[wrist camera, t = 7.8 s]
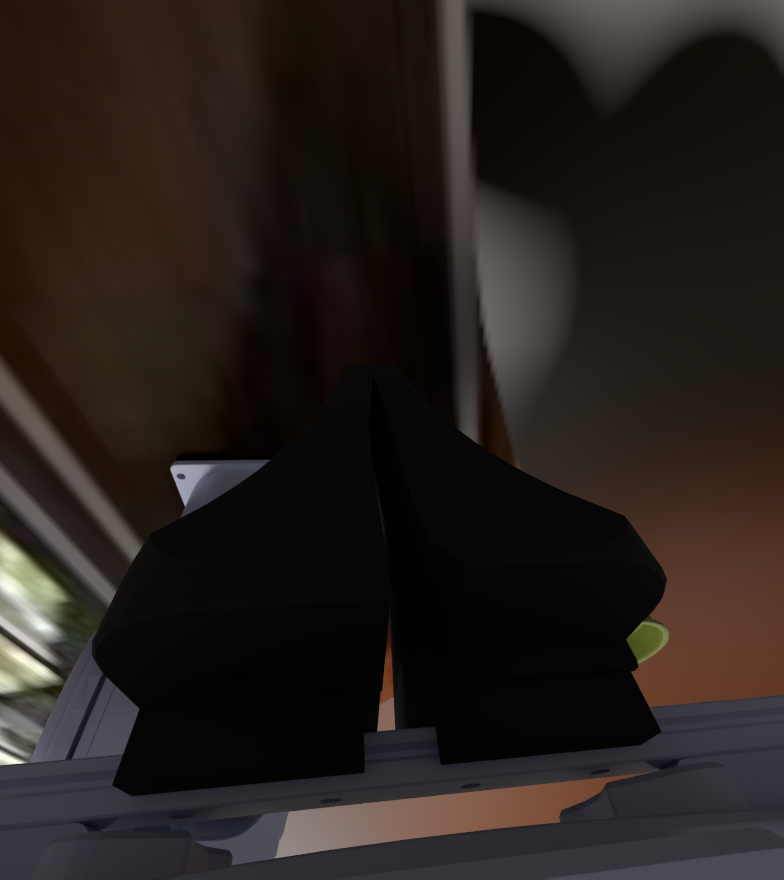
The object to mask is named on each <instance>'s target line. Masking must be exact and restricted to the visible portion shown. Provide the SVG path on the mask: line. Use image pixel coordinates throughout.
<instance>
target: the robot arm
mask: <svg viewBox="0 0 784 880" xmlns="http://www.w3.org/2000/svg"><path fill="white" fill-rule="evenodd" d="M170 470H171V473H172V475H173V478H174V480H175V483H176V485H177V487H178V490H179V492H180V495H181V497H182V500H183V502H184V505H185V509H184V511H183V514H182V516H181V518H180V519H178V520H176V521H174V522H172V523H171V524H169V525H167V526H165V527H163V528H161V529H159V530H157V531H155V532H153V533H151V534H150V535H149V537H148V538H147V540H146V542H145V544H144V545H143V547H142V548H141V550H140V551H139V553H138V554H137V556H136V557H135V559H134V560H133V562H132V564H131V565H130V567H129V569H128V571H127V573H126V574H125V576H124V578H123V580H122V582H121V584H120V586H119V588H118V590H117V592H116V594H115V596H114V598H113V600H112V602H111V604H110V606H109V608H108V610H107V612H106V614H105V616H104V618H103V620H102V622H101V624H100V626H99V628H98V630H97V631H95V633H94V634H93V635H92V637H91V638H90V640H89V641H88V643H87V644H86V646H85V648H84V650H83V651H82V653H81V655H80V657H79V659H78V660H77V662H76V664H75V666H74V668H73V670H72V672H71V674H70V676H69V678H68V680H67V682H66V684H65V686H64V688H63V690H62V692H61V694H60V696H59V698H58V700H57V702H56V704H55V706H54V708H53V710H52V713H51V715H50V717H49V719H48V721H47V723H46V726H45V728H44V730H43V732H42V735H41V737H40V739H39V742H38V744H37V746H36V749H35V751H34V754H33V756H32V758H31V761H30V763H23V764H12V765H1V766H0V880H784V695H778V696H767V697H757V698H756V697H755V698H745V699H733V700H722V701H711V702H700V703H689V704H678V705H666V706H656V707H649V706H648V704H647V702H646V700H645V698H644V696H643V694H642V692H641V691H640V689H639V687H638V685H637V683H636V681H635V679H634V677H633V675H632V673H631V671H635V669H637V668H638V661H637V659H636V657H635V655H634V653H633V651H632V649H631V648H630V646H629V644H628V642H627V640H626V639H627V638H628V637H629V636H630V635H631V634H632V633H633V632H634V631H635V629H636V628H637V627H638V626H639V625H640V624H641V623H642V622H643V621H644V620H645V619H646V618H647V617H648V616H649V614H650V613H651V612H652V611H653V610H654V609H655V607H656V606H657V605H658V603H659V602H660V600H661V599H662V597H663V594H664V591H665V586H666V581H667V578H666V576H665V574H664V571H663V569H662V567H661V566H660V564H659V563H658V562H657V560H656V559H655V557H654V556H653V554H652V553H651V552H650V550H649V549H648V547H647V546H646V545H645V543H644V542H643V540H642V539H641V538H640V536H639V535H638V533H637V532H636V531H635V529H634V528H633V526H632V525H631V524H630V522H629V521H628V520H627V519H626V517H625V516H623V515H621V514H618V513H616V512H614V511H611V510H609V509H606V508H604V507H601V506H598V505H596V504H593V503H591V502H588V501H586V500H584V499H581V498H579V497H576V496H574V495H571V494H568V493H566V492H564V491H562V490H560V489H557V488H555V487H553V486H551V485H549V484H547V483H545V482H543V481H541V480H539V479H537V478H535V477H532V476H531V475H529V474H527V473H525V472H523V471H521V470H519V469H518V468H516V467H514V466H512V465H511V464H509V463H507V462H505V461H504V460H502V459H500V458H499V457H497V456H495V455H494V454H492V453H490V452H489V451H487V450H486V449H484V448H483V447H481V446H480V445H478V444H477V443H476V442H474V441H473V440H472V439H470V438H469V437H467V436H466V435H465V434H463V433H462V432H461V431H459V430H458V429H457V428H456V427H454V426H453V425H452V424H451V423H450V422H448V421H447V420H446V419H445V418H444V417H443V416H442V415H441V414H439V413H438V412H437V411H436V410H435V409H434V408H433V407H432V406H431V405H430V404H429V403H428V402H427V401H426V400H425V399H424V398H423V396H422V395H421V394H420V393H419V392H418V391H417V390H416V389H415V388H414V386H413V385H412V384H411V383H410V382H409V380H408V379H407V378H406V377H405V376H404V374H403V373H402V372H401V371H400V369H399V368H398V367H397V366H396V365H395V364H347V365H346V366H344V367H343V368H342V372H341V374H340V376H339V378H338V380H337V382H336V384H335V386H334V387H333V389H332V391H331V392H330V394H329V395H328V397H327V398H326V400H325V401H324V403H323V404H322V406H321V407H320V408H319V410H318V411H317V412H316V413H315V415H314V416H313V417H312V418H311V420H310V421H309V422H308V423H307V425H306V426H305V427H304V428H303V429H302V430H301V431H300V432H299V434H298V435H297V436H296V437H295V438H294V439H293V440H292V441H291V442H290V443H289V444H288V445H287V446H286V447H285V448H283V449H282V450H281V451H280V452H279V453H278V454H277V455H275V456H274V457H273V458H272V459H271V460H209V461H175V462H173V464H172V466H171V468H170ZM181 474H184V475H181ZM377 497H378V499H377ZM378 503H379V505H378ZM379 509H380V511H379ZM380 515H381V518H380ZM381 521H382V524H381ZM382 527H383V530H382ZM383 534H384V535H383ZM389 617H390V634H391V652H392V670H393V690H394V710H395V730H389V731H378V732H377V726H378V713H379V703H380V691H382V686H383V675H384V664H385V654H386V643H387V632H388V621H389ZM648 772H652V773H648ZM639 773H648V774H643V775H639V776H634V777H630V778H626V779H621V780H617V781H612V782H609V783H607V784H606V785H605V787H604V788H603V790H602V791H601V792H600V793H598V794H597V795H595V796H593V797H592V798H590V799H588V800H586V801H584V802H582V803H579V804H576V805H574V806H571V807H569V808H566V809H564V810H562V811H561V814H560V816H559V818H560V821H561V822H560V823H550V824H541V825H540V824H539V825H529V826H520V827H509V828H500V829H491V830H482V831H474V832H465V833H457V834H449V835H440V836H431V837H424V838H415V839H408V840H400V841H393V842H385V843H379V844H371V845H363V846H356V847H349V848H341V849H335V850H327V851H320V852H314V853H308V854H301V855H295V856H288V857H282V858H275V856H276V854H277V849H278V844H279V840H280V838H281V837H282V835H283V832H284V828H285V824H286V819H287V815H288V812H289V811H297V810H306V809H315V808H325V807H334V806H343V805H353V804H362V803H371V802H380V801H389V800H399V799H408V798H417V797H425V796H426V797H427V796H436V795H445V794H454V793H463V792H473V791H482V790H491V789H499V788H510V787H519V786H527V785H537V784H547V783H556V782H565V781H574V780H583V779H593V778H602V777H610V776H621V775H630V774H639ZM274 858H275V859H274Z"/></svg>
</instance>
